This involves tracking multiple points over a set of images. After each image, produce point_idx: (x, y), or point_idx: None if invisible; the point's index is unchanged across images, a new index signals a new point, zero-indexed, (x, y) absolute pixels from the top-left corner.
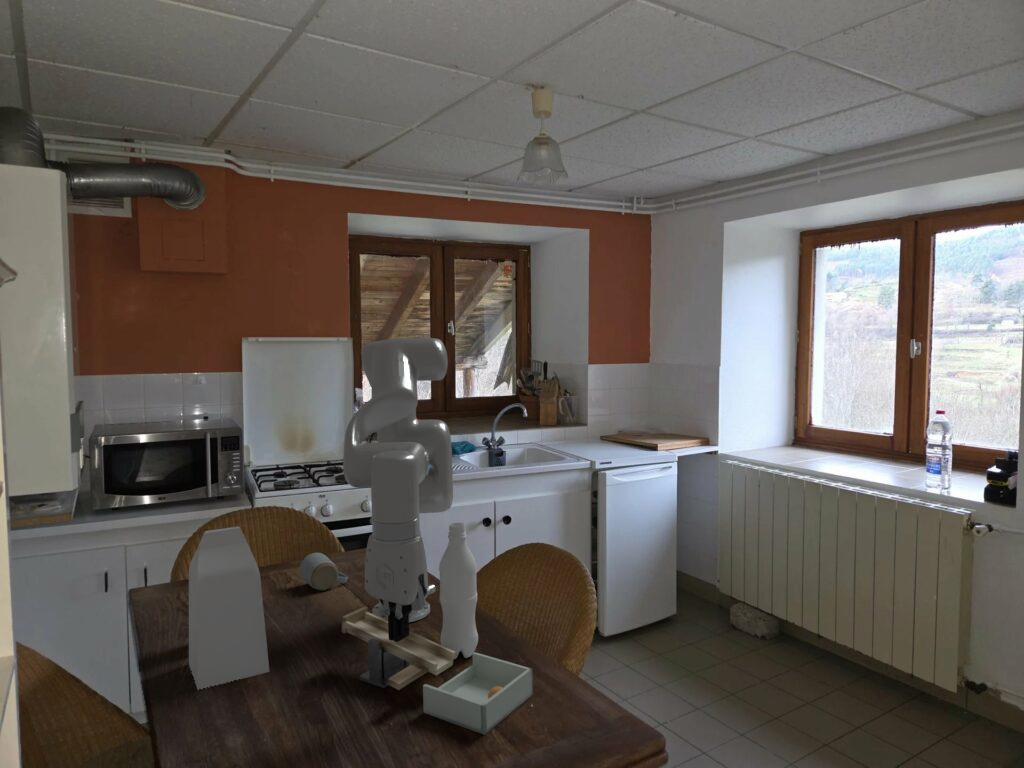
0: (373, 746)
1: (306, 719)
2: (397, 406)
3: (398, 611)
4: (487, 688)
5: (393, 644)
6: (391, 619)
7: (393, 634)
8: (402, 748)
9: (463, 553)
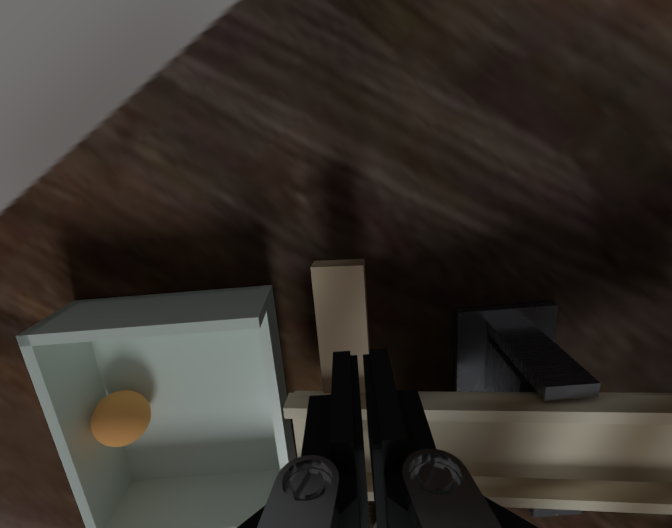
0: (250, 83)
1: (530, 54)
2: None
3: (297, 513)
4: (219, 444)
5: (487, 412)
6: (376, 435)
7: (349, 369)
8: (180, 128)
9: None
